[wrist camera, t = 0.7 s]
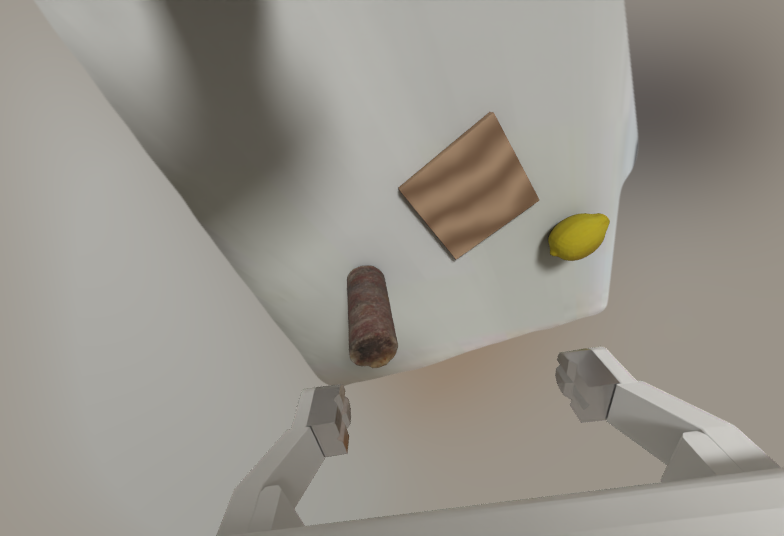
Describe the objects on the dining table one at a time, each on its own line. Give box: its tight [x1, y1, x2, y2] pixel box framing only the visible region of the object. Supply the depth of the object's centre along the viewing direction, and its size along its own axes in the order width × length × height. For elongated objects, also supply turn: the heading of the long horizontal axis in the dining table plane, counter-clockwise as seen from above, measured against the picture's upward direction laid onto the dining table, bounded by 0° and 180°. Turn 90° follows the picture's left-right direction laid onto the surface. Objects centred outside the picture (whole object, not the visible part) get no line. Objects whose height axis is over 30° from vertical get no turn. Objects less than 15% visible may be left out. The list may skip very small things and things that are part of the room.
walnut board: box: [399, 112, 539, 259], centre depth 52 cm, size 18×18×2 cm
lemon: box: [548, 213, 610, 261], centre depth 56 cm, size 11×8×8 cm
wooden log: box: [347, 266, 398, 368], centre depth 51 cm, size 8×7×20 cm
